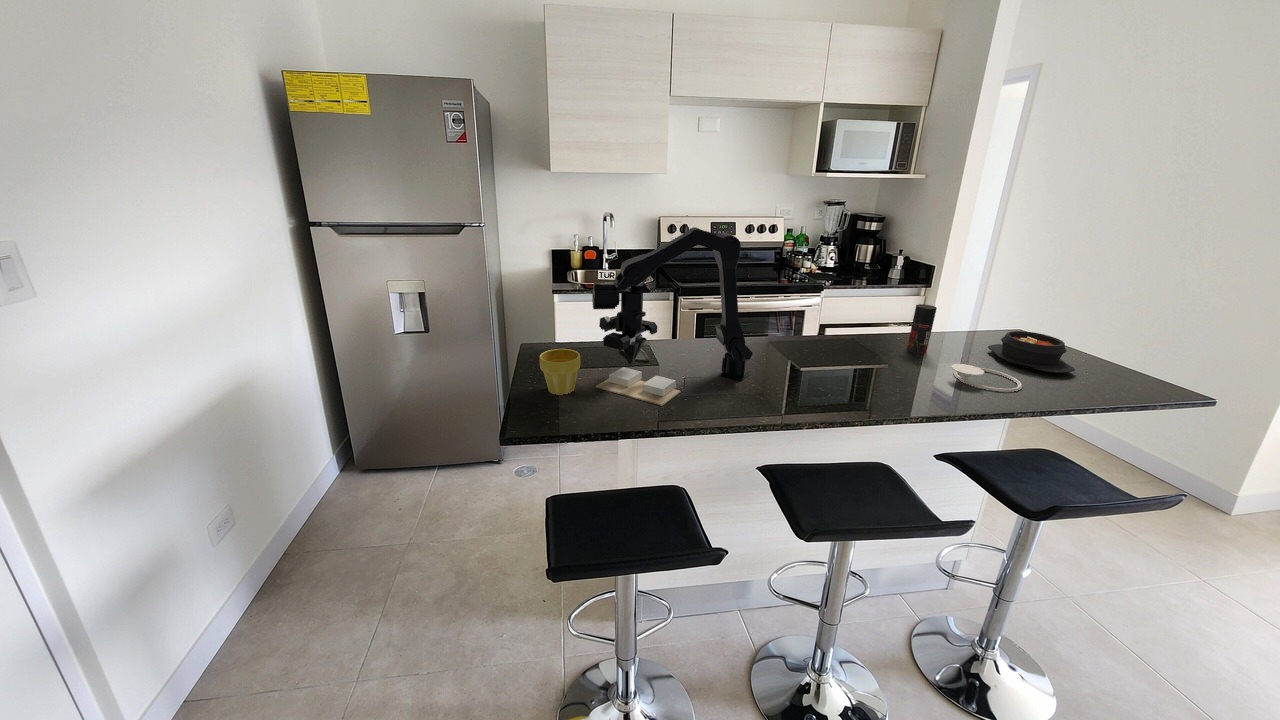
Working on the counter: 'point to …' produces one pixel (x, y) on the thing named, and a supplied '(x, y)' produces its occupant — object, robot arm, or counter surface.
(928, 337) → the deodorant
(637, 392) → the cork mat
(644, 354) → the ceramic fragment
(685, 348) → the counter surface
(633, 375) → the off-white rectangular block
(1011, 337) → the casserole
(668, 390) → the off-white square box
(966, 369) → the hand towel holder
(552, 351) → the plant pot
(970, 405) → the counter surface
